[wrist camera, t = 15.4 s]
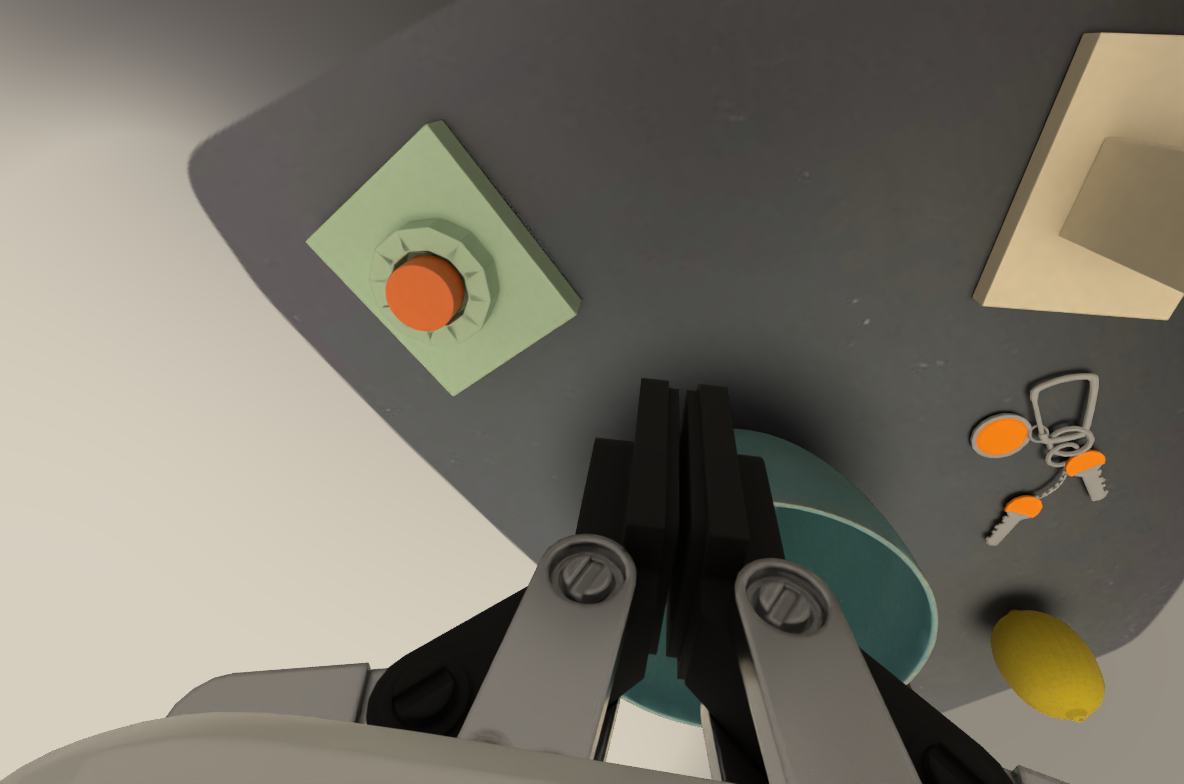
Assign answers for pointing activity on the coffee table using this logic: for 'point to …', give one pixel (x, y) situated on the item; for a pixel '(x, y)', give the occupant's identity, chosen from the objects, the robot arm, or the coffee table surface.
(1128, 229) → the bracket
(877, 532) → the plant pot
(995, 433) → the key chain
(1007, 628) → the lemon
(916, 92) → the coffee table surface
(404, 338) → the button block
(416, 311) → the button
